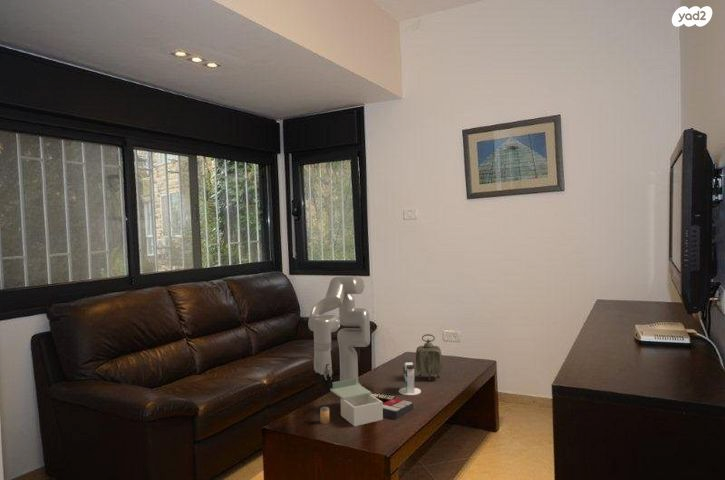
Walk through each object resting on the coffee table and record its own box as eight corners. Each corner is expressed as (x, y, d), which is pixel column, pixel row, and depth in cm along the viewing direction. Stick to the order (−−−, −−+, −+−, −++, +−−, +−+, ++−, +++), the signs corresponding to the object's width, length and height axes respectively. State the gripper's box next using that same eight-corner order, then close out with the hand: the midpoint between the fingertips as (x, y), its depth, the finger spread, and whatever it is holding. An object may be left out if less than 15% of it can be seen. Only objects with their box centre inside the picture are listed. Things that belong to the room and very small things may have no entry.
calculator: (413, 401, 223) (396, 410, 211) (413, 411, 223) (396, 420, 211) (394, 397, 230) (375, 405, 218) (393, 406, 230) (375, 414, 218)
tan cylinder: (319, 421, 212) (318, 407, 211) (327, 419, 213) (327, 406, 213) (322, 424, 208) (322, 410, 208) (331, 422, 210) (330, 408, 210)
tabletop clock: (442, 376, 270) (440, 332, 269) (443, 381, 261) (442, 336, 260) (416, 376, 271) (415, 332, 271) (416, 381, 262) (415, 336, 262)
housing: (340, 415, 217) (340, 398, 217) (368, 409, 224) (367, 392, 224) (354, 426, 205) (353, 407, 205) (382, 419, 211) (382, 401, 211)
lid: (330, 390, 227) (330, 382, 227) (357, 385, 234) (357, 377, 234) (342, 399, 214) (342, 391, 214) (371, 393, 221) (371, 386, 221)
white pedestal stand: (397, 388, 253) (396, 359, 252) (418, 387, 254) (417, 358, 253) (400, 395, 241) (399, 366, 240) (422, 394, 242) (422, 365, 241)
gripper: (307, 343, 216) (308, 381, 216) (322, 351, 200) (323, 392, 201) (323, 341, 219) (324, 379, 219) (338, 349, 204) (339, 389, 204)
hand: (323, 385), depth 210 cm, fingers open, 9 cm apart
